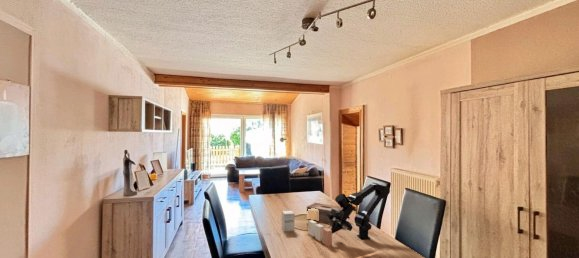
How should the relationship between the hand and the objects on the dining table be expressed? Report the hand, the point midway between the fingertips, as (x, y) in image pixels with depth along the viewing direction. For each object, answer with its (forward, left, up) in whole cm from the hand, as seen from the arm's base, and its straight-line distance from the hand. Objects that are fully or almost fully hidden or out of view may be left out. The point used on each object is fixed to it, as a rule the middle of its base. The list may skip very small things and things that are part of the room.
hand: (330, 233), depth 157 cm
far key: (-15, -7, -6) cm, 17 cm away
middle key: (-7, -5, -6) cm, 10 cm away
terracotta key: (+1, -2, -6) cm, 6 cm away
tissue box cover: (-44, +12, -7) cm, 47 cm away
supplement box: (-27, -20, -7) cm, 35 cm away
